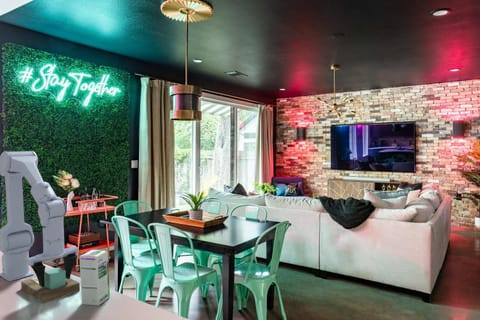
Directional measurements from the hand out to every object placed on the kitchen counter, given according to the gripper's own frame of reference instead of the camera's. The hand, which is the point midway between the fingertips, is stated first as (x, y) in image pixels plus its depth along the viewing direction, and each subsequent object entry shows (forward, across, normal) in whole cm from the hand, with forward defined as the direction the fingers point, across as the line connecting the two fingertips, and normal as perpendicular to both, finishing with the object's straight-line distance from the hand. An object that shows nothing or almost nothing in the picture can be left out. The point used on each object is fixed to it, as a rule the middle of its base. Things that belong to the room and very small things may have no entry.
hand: (55, 281), depth 111 cm
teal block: (+3, 0, 0) cm, 3 cm away
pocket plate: (+3, 0, +4) cm, 5 cm away
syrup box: (+4, +5, -15) cm, 16 cm away
